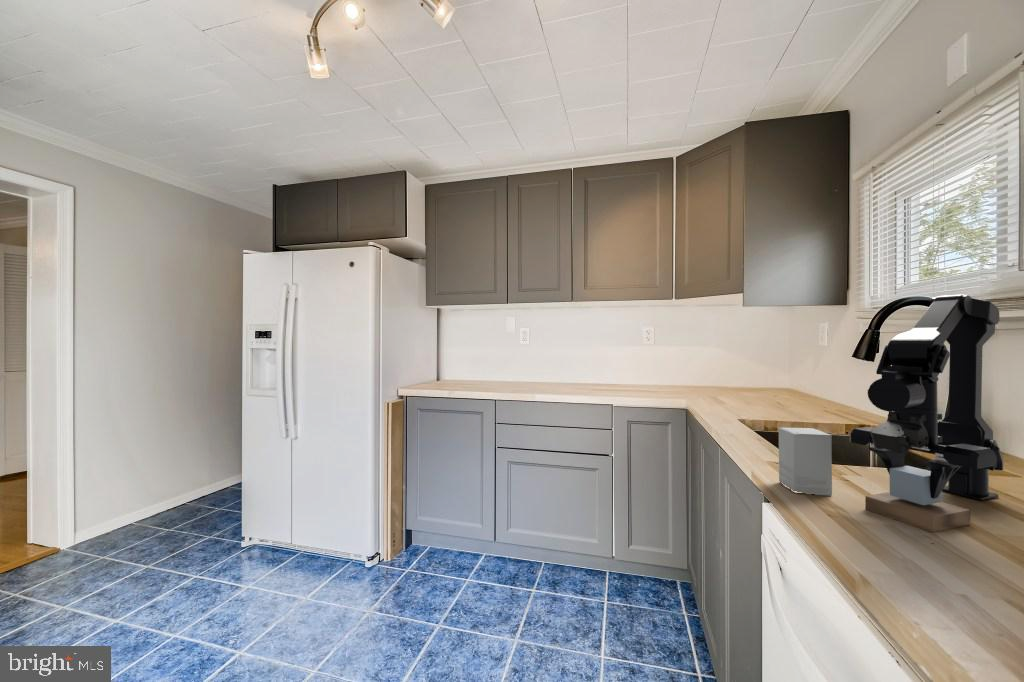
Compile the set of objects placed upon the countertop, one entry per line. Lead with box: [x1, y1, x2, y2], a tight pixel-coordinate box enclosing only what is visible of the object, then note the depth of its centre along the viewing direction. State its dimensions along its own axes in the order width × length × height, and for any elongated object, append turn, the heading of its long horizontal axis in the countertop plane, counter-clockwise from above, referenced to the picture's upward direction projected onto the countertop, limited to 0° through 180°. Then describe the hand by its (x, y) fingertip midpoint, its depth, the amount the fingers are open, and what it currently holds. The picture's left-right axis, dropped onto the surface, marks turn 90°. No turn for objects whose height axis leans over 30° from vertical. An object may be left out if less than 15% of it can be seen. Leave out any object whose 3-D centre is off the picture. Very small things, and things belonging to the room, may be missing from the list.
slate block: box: [889, 465, 943, 505], centre depth 75 cm, size 5×5×5 cm
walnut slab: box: [864, 491, 971, 533], centre depth 75 cm, size 10×10×2 cm
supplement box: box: [778, 427, 833, 497], centre depth 89 cm, size 7×7×13 cm
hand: (915, 492), depth 75 cm, fingers closed on slate block, 5 cm apart
